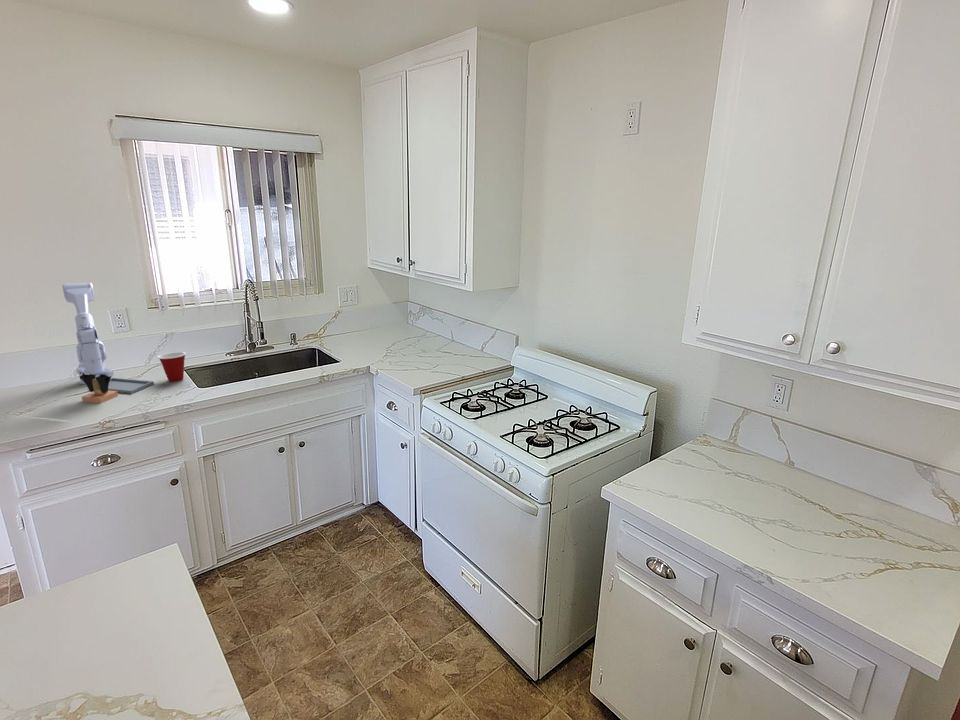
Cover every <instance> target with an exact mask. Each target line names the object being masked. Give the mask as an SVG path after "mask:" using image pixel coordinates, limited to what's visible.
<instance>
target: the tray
mask: <svg viewBox="0 0 960 720" xmlns="http://www.w3.org/2000/svg"><path fill="white" fill-rule="evenodd" d="M154 385H155V382H154V381H153V380H143V379H133V378H122V377H121V378H120V377H111V379H110V381H109V386H108V390H109V391H117V393H118V394H126V395H133V394H136V393H137V392H140V391H143V390H145V389H146V388H149V387H151V386H154Z"/></svg>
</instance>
